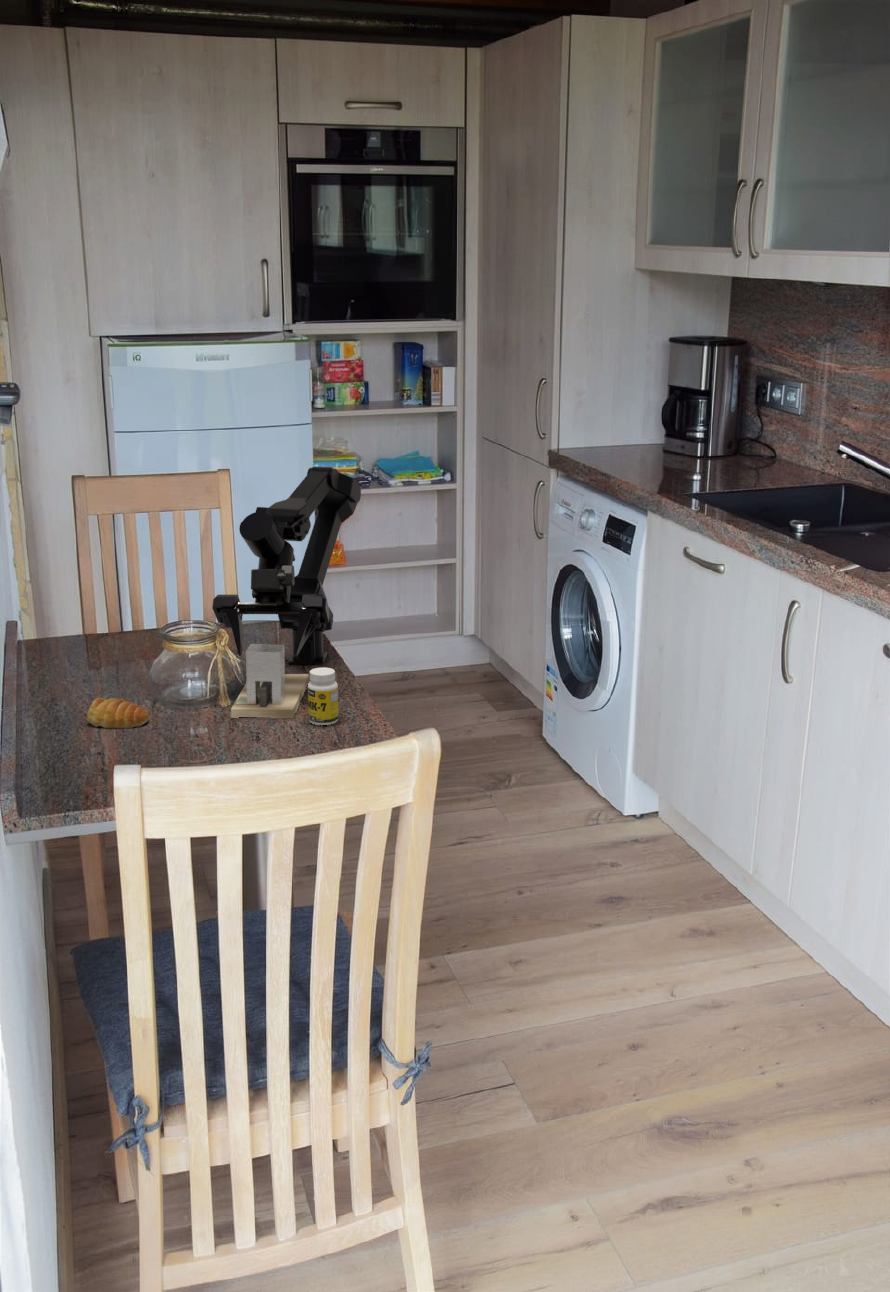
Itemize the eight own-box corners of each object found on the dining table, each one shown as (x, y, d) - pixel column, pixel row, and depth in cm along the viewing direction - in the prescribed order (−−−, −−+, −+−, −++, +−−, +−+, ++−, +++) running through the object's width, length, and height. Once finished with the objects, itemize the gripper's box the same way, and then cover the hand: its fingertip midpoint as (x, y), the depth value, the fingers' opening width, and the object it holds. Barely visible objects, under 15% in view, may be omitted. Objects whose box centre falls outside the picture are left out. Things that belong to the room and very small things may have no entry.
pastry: (157, 718, 191) (155, 695, 190) (138, 733, 185) (136, 710, 184) (103, 713, 193) (101, 691, 192) (83, 728, 187) (81, 706, 186)
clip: (251, 695, 196) (250, 643, 193) (285, 697, 195) (284, 644, 193) (247, 704, 192) (245, 651, 189) (281, 705, 192) (280, 652, 189)
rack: (252, 681, 208) (250, 657, 206) (309, 682, 207) (308, 657, 206) (231, 717, 190) (229, 691, 189) (293, 718, 190) (292, 691, 189)
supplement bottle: (302, 723, 188) (300, 673, 186) (319, 714, 192) (317, 664, 190) (328, 728, 186) (326, 677, 183) (344, 718, 190) (343, 669, 187)
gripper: (210, 547, 194) (200, 632, 187) (324, 547, 193) (318, 632, 186) (223, 581, 204) (214, 663, 197) (331, 581, 203) (326, 663, 196)
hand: (267, 654), depth 194 cm, fingers open, 9 cm apart
